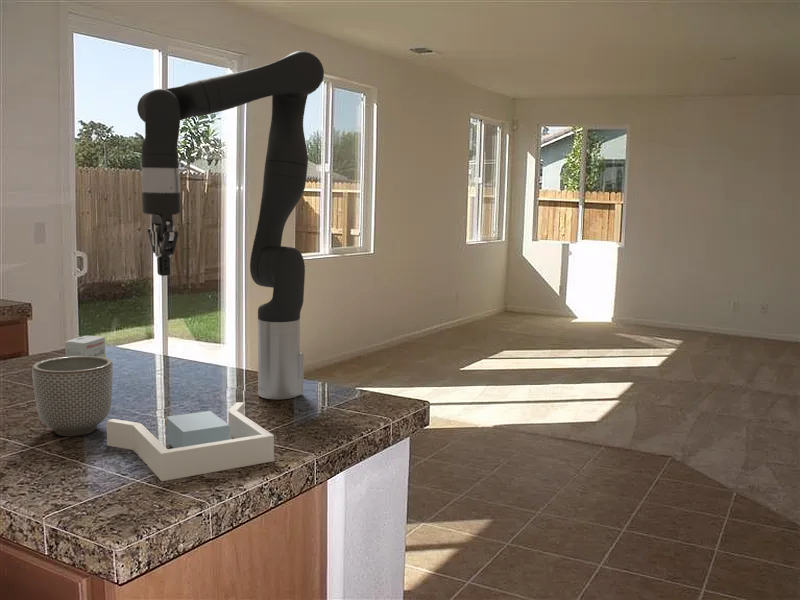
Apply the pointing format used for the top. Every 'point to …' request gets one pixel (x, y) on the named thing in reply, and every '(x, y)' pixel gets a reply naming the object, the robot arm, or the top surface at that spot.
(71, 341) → the ink box
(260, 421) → the top surface
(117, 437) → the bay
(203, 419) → the light blue box
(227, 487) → the top surface
